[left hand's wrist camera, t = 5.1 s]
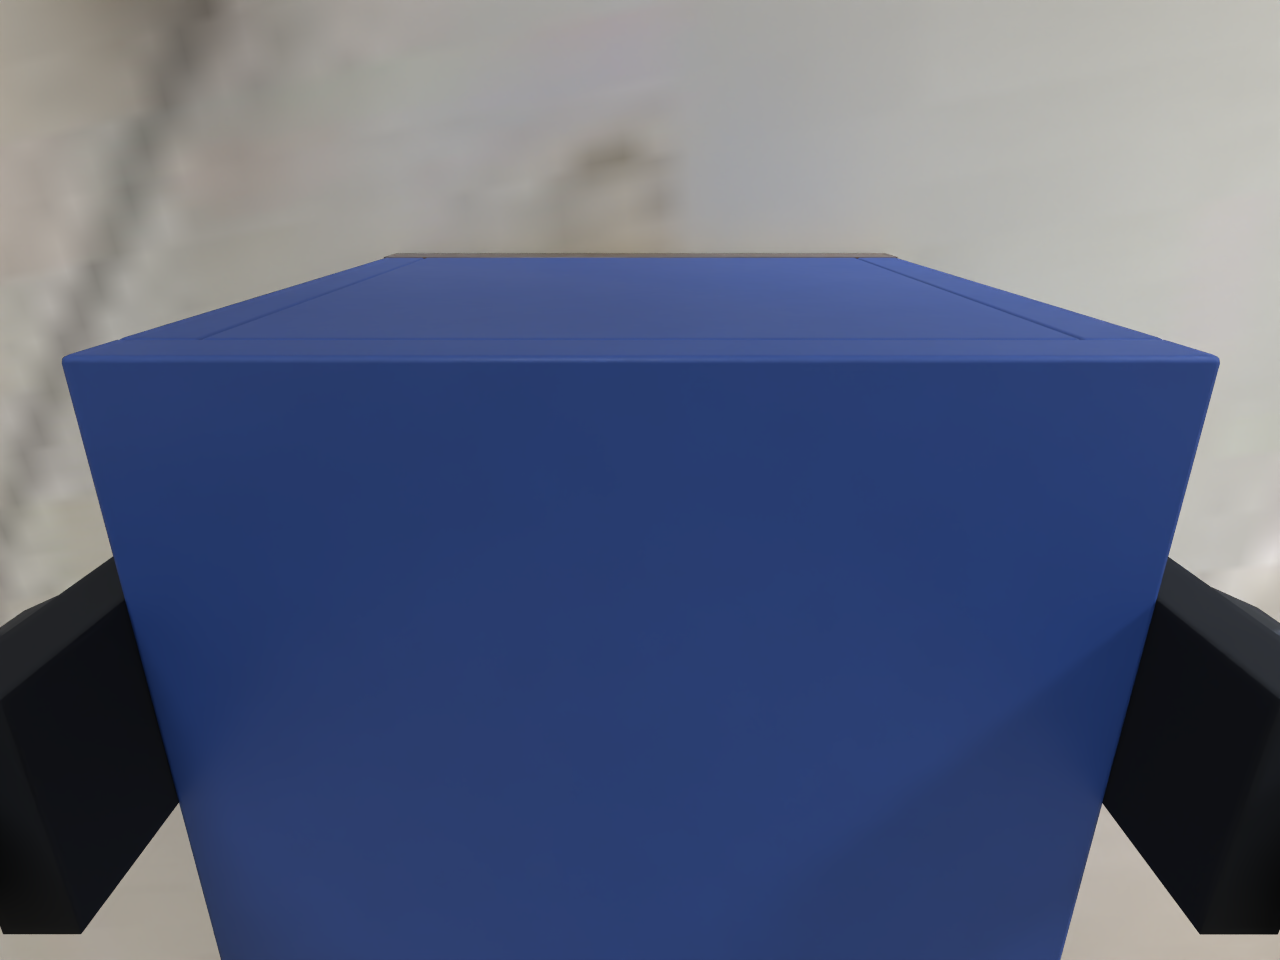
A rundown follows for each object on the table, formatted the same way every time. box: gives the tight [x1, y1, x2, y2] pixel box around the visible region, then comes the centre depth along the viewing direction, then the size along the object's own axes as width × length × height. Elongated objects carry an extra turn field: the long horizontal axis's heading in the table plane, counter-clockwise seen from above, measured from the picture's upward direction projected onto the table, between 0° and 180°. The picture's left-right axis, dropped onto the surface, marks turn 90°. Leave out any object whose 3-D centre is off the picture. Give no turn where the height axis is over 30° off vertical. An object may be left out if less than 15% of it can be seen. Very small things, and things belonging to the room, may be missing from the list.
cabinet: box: [62, 253, 1220, 960], centre depth 16 cm, size 22×11×11 cm, turn 0°
